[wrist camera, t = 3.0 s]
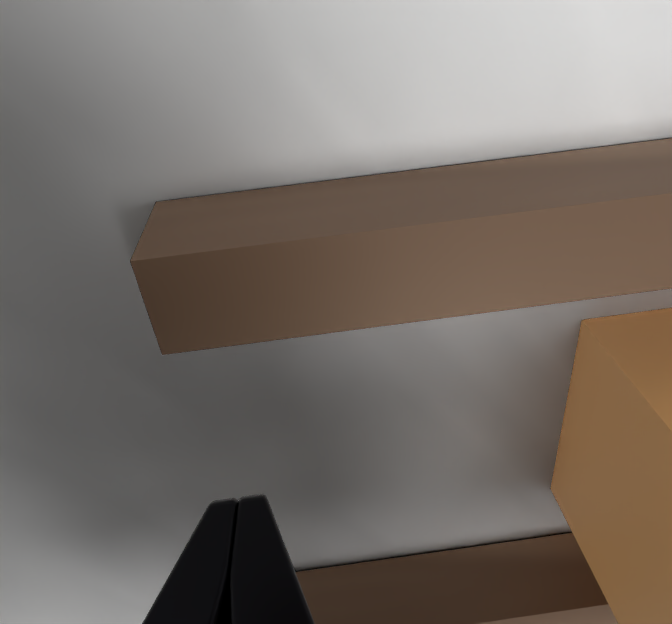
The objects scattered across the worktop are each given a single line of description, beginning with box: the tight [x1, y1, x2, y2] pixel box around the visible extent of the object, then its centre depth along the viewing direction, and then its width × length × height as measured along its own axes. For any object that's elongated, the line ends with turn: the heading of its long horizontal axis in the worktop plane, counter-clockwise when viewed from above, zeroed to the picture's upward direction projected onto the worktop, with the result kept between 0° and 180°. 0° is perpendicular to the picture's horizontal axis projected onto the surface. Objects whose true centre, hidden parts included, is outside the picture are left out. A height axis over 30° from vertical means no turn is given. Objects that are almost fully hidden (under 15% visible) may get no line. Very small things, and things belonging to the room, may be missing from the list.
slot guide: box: [130, 138, 672, 624], centre depth 9 cm, size 9×14×2 cm
